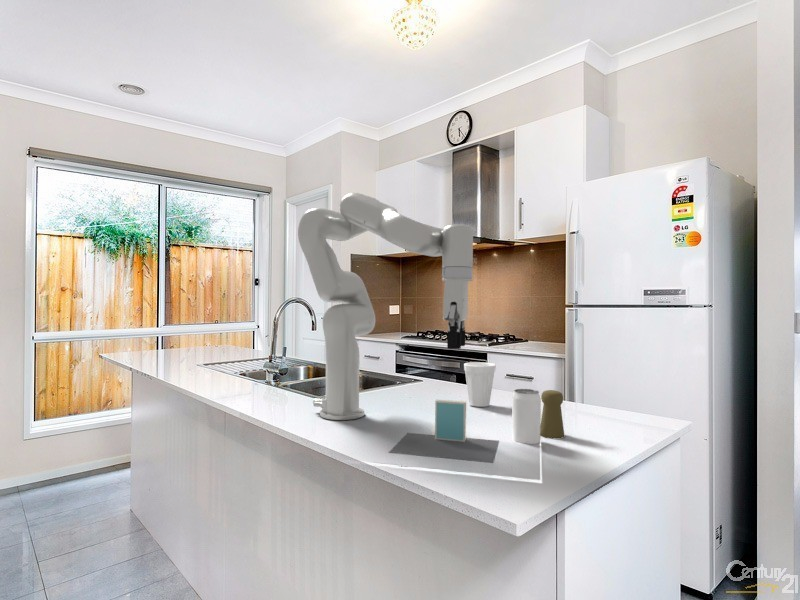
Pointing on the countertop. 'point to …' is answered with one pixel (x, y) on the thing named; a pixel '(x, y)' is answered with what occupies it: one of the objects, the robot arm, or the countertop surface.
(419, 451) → the mat
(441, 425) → the tile
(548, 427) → the cork
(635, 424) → the countertop surface
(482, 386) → the cup
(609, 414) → the countertop surface
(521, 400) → the can
